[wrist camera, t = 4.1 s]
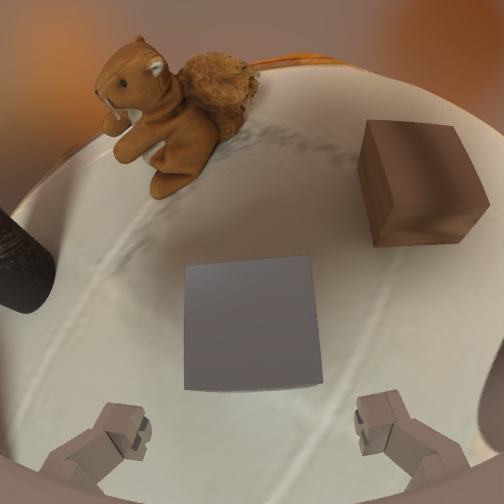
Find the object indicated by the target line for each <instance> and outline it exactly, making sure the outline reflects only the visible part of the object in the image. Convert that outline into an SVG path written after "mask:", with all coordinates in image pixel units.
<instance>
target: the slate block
mask: <svg viewBox="0 0 504 504" xmlns="http://www.w3.org/2000/svg"><path fill="white" fill-rule="evenodd" d="M321 383H323V375H322V363H321V353H320V343H319V333H318V324H317V315H316V306H315V298H314V290H313V282H312V274H311V267H310V259H309V254H308V255H297V256H287V257H277V258H266V259H255V260H245V261H234V262H223V263H212V264H201V265H190V266H186V273H185V305H184V390H193V391H207V392H224V393H243V392H264V391H279V390H291V389H302V388H309V387H312V386H315V385H318V384H321Z"/></svg>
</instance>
